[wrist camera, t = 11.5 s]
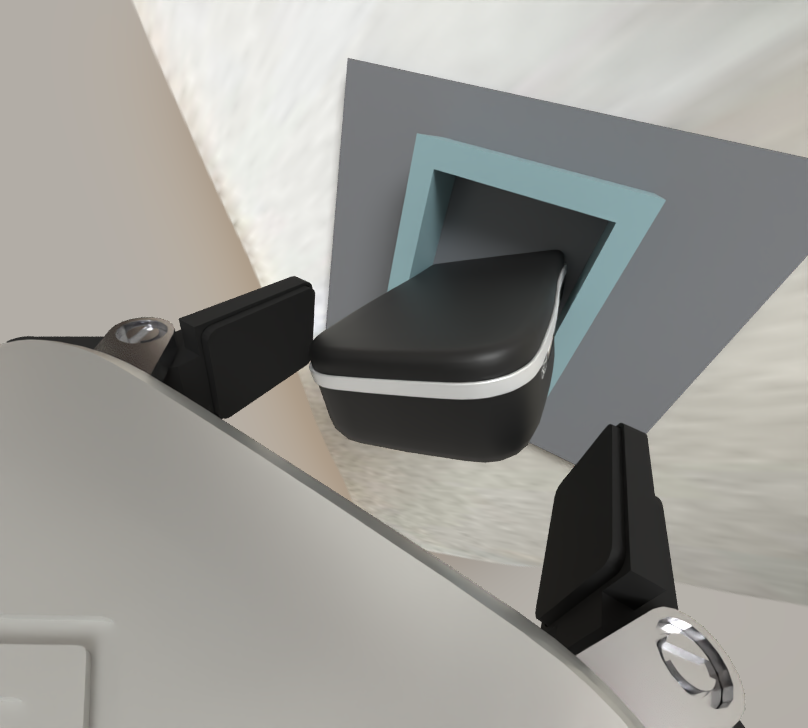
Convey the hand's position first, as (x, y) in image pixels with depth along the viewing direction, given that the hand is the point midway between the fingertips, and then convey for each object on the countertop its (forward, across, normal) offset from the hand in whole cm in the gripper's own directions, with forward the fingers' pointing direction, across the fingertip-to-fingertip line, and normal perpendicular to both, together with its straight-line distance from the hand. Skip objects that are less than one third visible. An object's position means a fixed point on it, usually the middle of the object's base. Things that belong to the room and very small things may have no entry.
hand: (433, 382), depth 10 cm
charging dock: (+10, +1, 0) cm, 10 cm away
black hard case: (+10, 0, 0) cm, 10 cm away
